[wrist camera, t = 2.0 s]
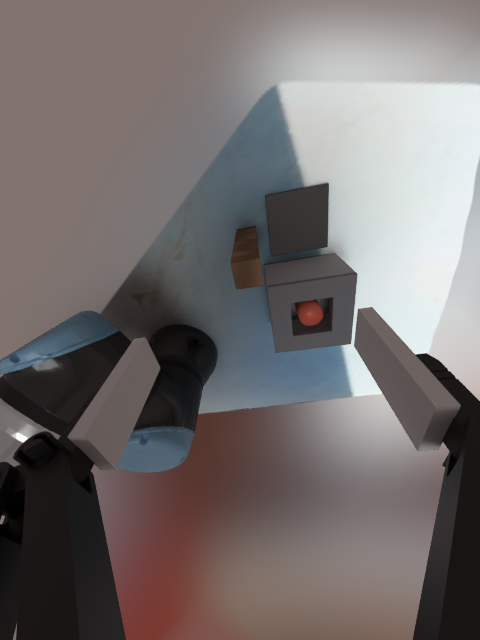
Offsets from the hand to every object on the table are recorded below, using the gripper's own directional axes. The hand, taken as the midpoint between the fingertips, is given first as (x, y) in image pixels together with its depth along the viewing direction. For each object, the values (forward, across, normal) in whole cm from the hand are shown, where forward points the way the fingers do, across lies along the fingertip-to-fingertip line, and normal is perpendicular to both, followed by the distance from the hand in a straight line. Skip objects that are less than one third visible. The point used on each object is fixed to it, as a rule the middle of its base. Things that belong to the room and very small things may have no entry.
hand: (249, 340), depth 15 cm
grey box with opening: (+27, +8, -11) cm, 31 cm away
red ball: (+23, +8, -11) cm, 27 cm away
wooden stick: (+27, 0, 0) cm, 27 cm away
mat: (+27, +8, +1) cm, 29 cm away
